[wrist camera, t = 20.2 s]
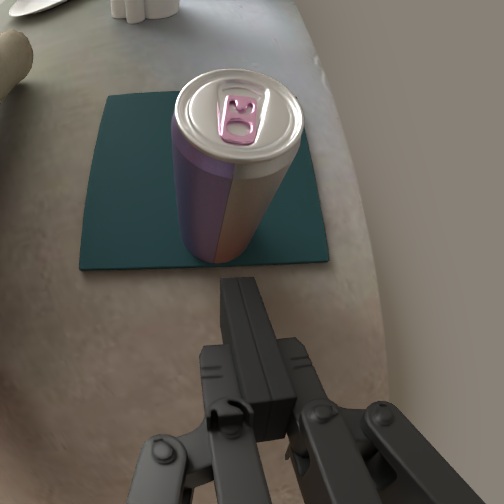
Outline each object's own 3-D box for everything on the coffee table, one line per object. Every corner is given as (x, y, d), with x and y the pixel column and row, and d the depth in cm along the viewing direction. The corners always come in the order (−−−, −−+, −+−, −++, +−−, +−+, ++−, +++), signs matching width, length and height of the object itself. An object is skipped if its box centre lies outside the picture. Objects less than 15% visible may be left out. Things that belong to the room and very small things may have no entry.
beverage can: (176, 262, 25) (156, 155, 11) (185, 196, 27) (184, 59, 12) (248, 268, 26) (312, 174, 12) (251, 204, 27) (304, 77, 13)
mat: (295, 99, 33) (296, 96, 33) (327, 262, 28) (329, 260, 27) (108, 99, 29) (107, 95, 29) (81, 270, 24) (78, 269, 23)
